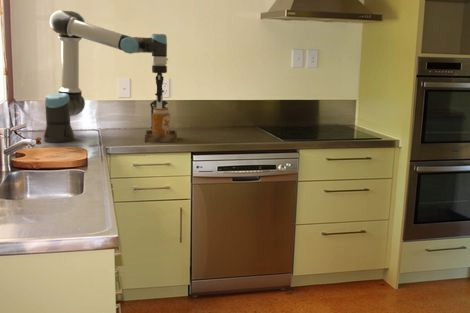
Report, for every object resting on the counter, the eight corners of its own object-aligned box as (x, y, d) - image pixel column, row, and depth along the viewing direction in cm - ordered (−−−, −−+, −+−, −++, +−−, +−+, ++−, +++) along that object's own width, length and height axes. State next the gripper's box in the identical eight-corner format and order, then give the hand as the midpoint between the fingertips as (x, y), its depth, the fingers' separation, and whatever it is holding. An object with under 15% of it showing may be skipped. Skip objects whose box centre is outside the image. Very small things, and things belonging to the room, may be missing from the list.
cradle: (145, 142, 277) (145, 134, 276) (146, 137, 291) (146, 130, 290) (176, 142, 279) (176, 134, 278) (176, 137, 293) (176, 130, 292)
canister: (161, 140, 278) (161, 101, 274) (146, 137, 285) (145, 99, 280) (173, 138, 285) (173, 99, 281) (158, 135, 292) (157, 98, 287)
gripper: (166, 66, 265) (166, 109, 269) (167, 63, 289) (167, 103, 294) (151, 66, 264) (151, 109, 269) (152, 63, 288) (153, 103, 293)
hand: (159, 106), depth 281 cm, fingers open, 13 cm apart
